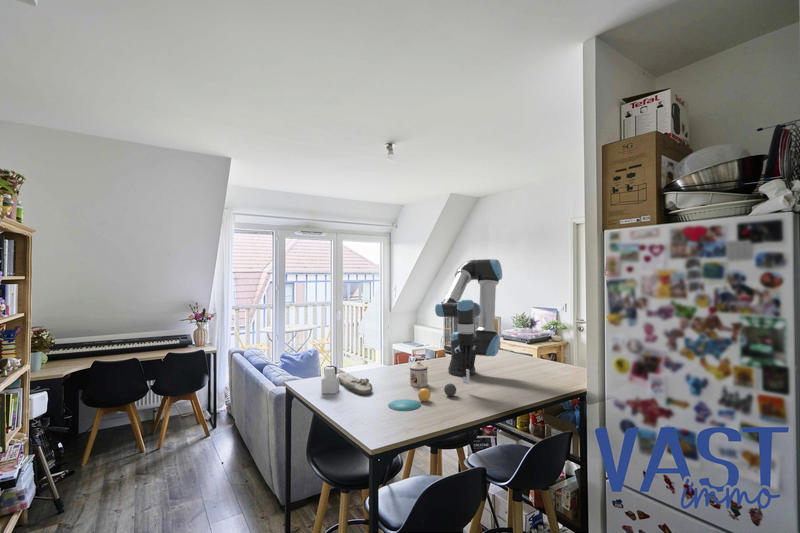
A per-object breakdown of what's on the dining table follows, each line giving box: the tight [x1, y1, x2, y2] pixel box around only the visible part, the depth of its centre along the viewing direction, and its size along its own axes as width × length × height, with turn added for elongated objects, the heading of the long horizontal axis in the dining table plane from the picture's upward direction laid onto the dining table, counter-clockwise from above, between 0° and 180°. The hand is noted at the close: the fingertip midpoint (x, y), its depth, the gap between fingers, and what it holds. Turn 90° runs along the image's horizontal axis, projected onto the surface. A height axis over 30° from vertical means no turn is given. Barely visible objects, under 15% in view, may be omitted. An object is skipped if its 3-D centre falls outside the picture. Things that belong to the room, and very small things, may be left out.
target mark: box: [387, 398, 422, 412], centre depth 165 cm, size 14×14×1 cm
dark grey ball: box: [443, 383, 457, 397], centre depth 177 cm, size 6×6×6 cm
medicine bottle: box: [321, 365, 340, 395], centre depth 186 cm, size 7×7×12 cm
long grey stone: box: [338, 373, 373, 395], centre depth 194 cm, size 35×5×10 cm
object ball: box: [417, 387, 431, 402], centre depth 170 cm, size 6×6×6 cm
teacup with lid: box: [409, 360, 429, 388], centre depth 194 cm, size 12×9×12 cm
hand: (466, 383), depth 181 cm, fingers closed
